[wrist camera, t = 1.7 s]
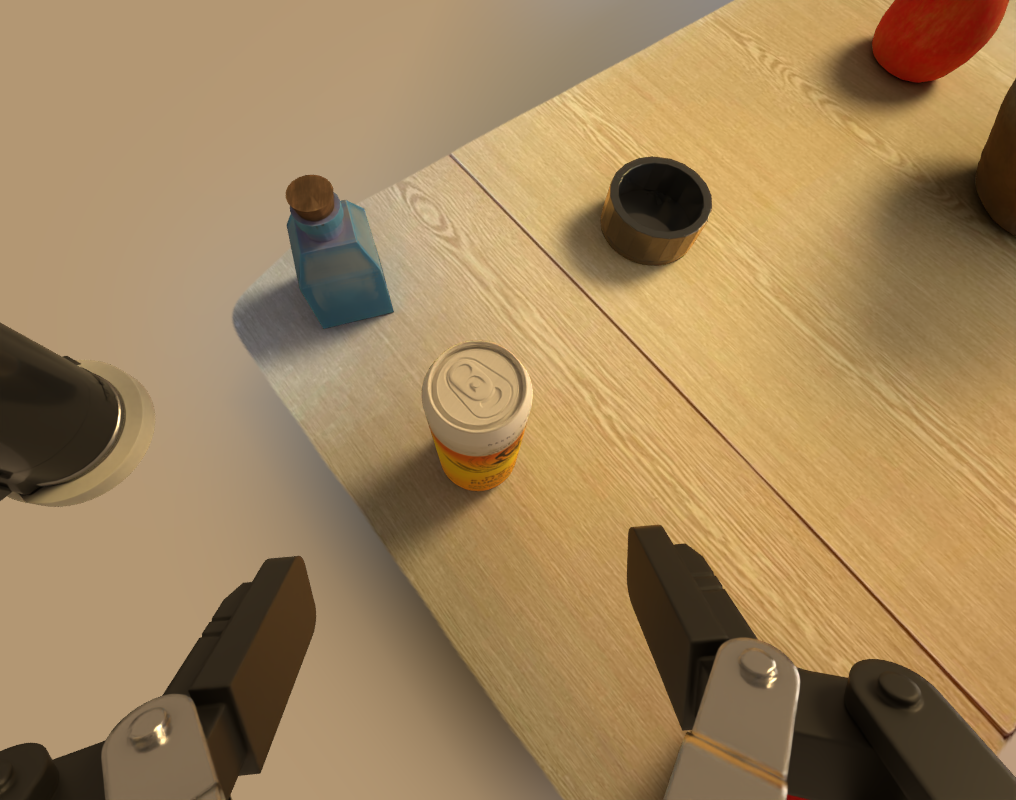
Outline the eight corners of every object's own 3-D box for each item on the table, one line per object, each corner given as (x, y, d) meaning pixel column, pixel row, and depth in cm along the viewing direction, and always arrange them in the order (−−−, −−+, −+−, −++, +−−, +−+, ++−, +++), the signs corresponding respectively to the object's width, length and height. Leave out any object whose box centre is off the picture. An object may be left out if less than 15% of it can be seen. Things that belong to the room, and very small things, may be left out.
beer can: (480, 509, 39) (481, 464, 25) (424, 457, 40) (394, 387, 26) (531, 452, 41) (558, 381, 27) (476, 405, 42) (474, 313, 28)
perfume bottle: (311, 270, 46) (256, 167, 34) (378, 255, 47) (346, 150, 35) (323, 328, 44) (269, 239, 32) (393, 311, 45) (364, 219, 33)
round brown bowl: (658, 283, 47) (673, 256, 43) (581, 226, 49) (589, 196, 45) (712, 225, 50) (731, 195, 46) (638, 173, 52) (650, 141, 48)
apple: (969, 73, 60) (1066, -29, 50) (911, 106, 57) (1001, 5, 48) (900, 20, 63) (980, -87, 53) (842, 49, 60) (914, -58, 50)
